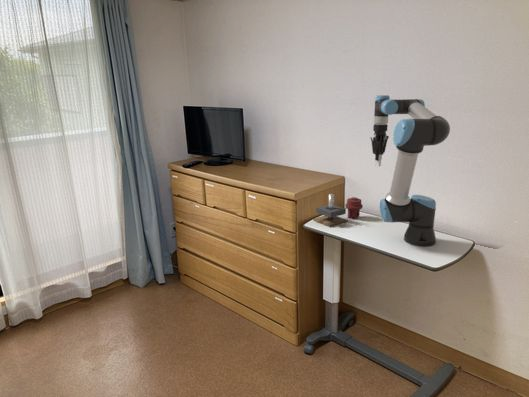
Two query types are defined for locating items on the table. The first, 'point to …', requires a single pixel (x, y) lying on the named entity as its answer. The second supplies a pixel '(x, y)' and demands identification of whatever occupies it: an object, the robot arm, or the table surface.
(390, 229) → the table surface
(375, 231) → the table surface
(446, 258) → the table surface
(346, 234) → the table surface
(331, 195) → the post
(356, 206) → the mechanical component
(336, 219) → the base
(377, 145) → the robot arm
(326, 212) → the collar
